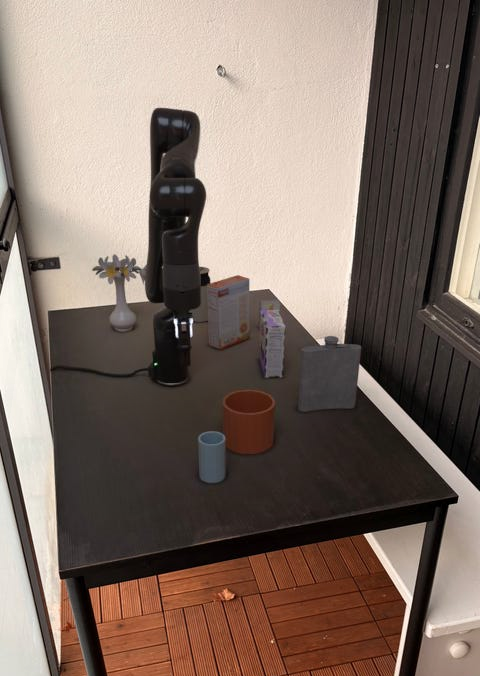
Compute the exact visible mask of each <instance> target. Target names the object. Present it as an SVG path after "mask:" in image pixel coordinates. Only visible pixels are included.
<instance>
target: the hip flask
mask: <svg viewBox="0 0 480 676" xmlns="http://www.w3.org/2000/svg"><path fill="white" fill-rule="evenodd" d="M323 341H324V344H321V345H319V344H318V345H311V346H303V347H302V348H301V349H300V350H301V351H300V368H299V384H298V399H297V400H298V401H297V410H298V411H299V412H301V413H306V412H312V411H322V410H334V409H337V410H339V409H343V410H344V409H345V410H347V409H349V410H351V409H354V408H356V401H357V400H356V399H357V393H358V383H359V374H360V373H359V372H360V363H361V356H362V354H361V353H362V346H361V345H360V344H357V343H356V344H353V343H352V344H351V343H339V337H337V336H334V335H327V336H324V340H323Z"/></svg>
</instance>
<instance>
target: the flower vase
mask: <svg viewBox="0 0 480 676" xmlns="http://www.w3.org/2000/svg"><path fill="white" fill-rule="evenodd" d="M108 260H109V255H107V256H106V257H105V258H104V259H103V257H99V258H98V261H97V262H98V265H95V266H94V267H92V269H91V270H92V271H93V272H96V273H95V276H97V275H98V278H99V279H105V278H107V283H108V284H109V285H112V284H113V283H114V285H115V298H116V301H115V307H114V310H113V311H112V312H111V314H110V315H109V317H108V322H109V324H110V325H111V326H112V327H113V328H114V330H115V331H117V332H119V333H120V332H121V333H123V332H129V331H132V330H133V328H134V326H135V324H136V323H137V319H138V318H137V316H136V314H135V312H133V311H132V310H131V309H130V307H129V305H128V303H127V296H126V288H125V282H126V281H127V283H128V282H131V281H130V280H131V279H137V276H136V274H139V276H140V278H141V281H142V286H145V273H146V265H147V263H146V264H145V266H143V268H142V267H140V266H138V265H137V260H136V258H135V257H132V258H129V256H128V255H127V254H125V257H124V258H122V259H119V257H118V255H117V254H112V261H108ZM135 273H136V274H135Z"/></svg>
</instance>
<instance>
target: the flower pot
mask: <svg viewBox="0 0 480 676" xmlns="http://www.w3.org/2000/svg"><path fill="white" fill-rule="evenodd" d="M221 402H222V406H221V407H222V434H223V435H224V436H225V438H226V449H228V450H229V451H231V452H234V453H236V454H241V455H255V454H260V453H264V452H266V451H268V450H269V449H270V448H272V446H273V445H274V440H275V422H276V420H275V419H276V400H275V398H274V397H273V396H272V395H271V394H269V393H267V392H265V391H261V390H256V389H240V390H235V391H232V392H229V393H227V395H225V396H224V397H223V398H222V401H221Z"/></svg>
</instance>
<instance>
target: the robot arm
mask: <svg viewBox="0 0 480 676" xmlns="http://www.w3.org/2000/svg"><path fill="white" fill-rule="evenodd" d="M201 132H202V131H201V120H200V117H199V115H198V113H196V112H195V111H191V110H187V109H178V108H171V107H170V108H169V107H156V108H154V109H153V110H152V112H151V116H150V122H149V152H150V153H149V154H150V185H149V196H148V197H149V200H148V201H149V202H148V219H147V220H148V221H147V222H148V223H147V224H148V241H147V243H148V245H147V246H148V247H147V257H146V264H147V265H146V264H145V266H146V273H145V281H144V292H145V297H146V299H147V300H148V301H149V302H150V303H151V304H163V305H164V308H161V309H159V310H158V311H156V312H155V313H154V314H153V316H152V326H153V342H154V344H153V345H154V350H153V351H152V353H151V354H152V362H151V363H150V364H149V365H148V366H147V367H144V368H143V367H142V368H139V369H136V370H134V371H132V372H130V373H124V374H123V373H121V374H120V373H110V372H104V371H100V370H96V369H92V368H87V367H78V366H68V365H62V364H61V365H60V364H58V365H54V366H52V367H51V368H50V369H49V372H52V371H55V370H56V369H64V370H73V371H83V372H89V373H95V374H98V375H101V376H106V377H115V378H129V377H132V376H134V375H136V374H138V373H140V372H141V373H142V372H146V371H147V377H149V378H153V381H154V383H157V384H159V385H160V386H164V387H180V386H182V385H184V384H187V382H189V367H191V365H192V363H191V361H192V360H191V350H192V344H191V339H193V325H194V321H193V314H192V312H189V311H190V310H192V309H196V308H198V307H199V306H200V305H201V284H200V268H199V267H200V261H199V260H200V259H199V258H200V257H199V233H200V228H201V222H202V217H203V214H204V210H205V207H206V203H207V202H206V201H207V189H206V186H205V185H204V183H203V181H202V180H201V179H200V178H197V177H196V164H197V159H198V156H199V155H198V154H199V149H200V145H201V144H200V143H201Z"/></svg>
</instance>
